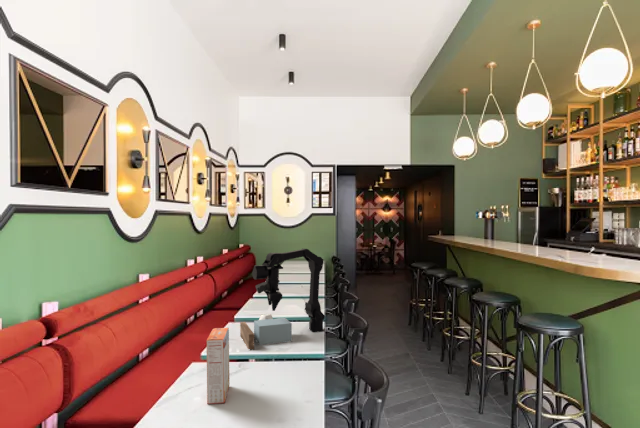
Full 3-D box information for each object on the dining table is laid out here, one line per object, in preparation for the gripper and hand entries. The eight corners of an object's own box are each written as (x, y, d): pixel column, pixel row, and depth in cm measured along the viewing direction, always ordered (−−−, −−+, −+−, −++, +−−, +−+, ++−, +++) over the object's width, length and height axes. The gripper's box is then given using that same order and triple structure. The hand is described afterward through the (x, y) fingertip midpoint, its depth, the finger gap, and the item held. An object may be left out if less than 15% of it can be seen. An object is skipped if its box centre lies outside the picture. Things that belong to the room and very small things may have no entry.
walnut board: (245, 335, 206) (245, 321, 206) (254, 349, 183) (254, 334, 183) (240, 336, 205) (240, 322, 205) (248, 350, 182) (248, 334, 183)
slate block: (284, 335, 207) (284, 317, 207) (291, 341, 196) (291, 323, 196) (254, 338, 201) (254, 320, 201) (259, 345, 190) (259, 326, 190)
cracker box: (212, 387, 142) (212, 327, 142) (230, 386, 143) (229, 327, 143) (205, 404, 128) (205, 339, 128) (224, 403, 129) (224, 338, 129)
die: (266, 334, 210) (277, 317, 214) (252, 325, 212) (263, 308, 215) (268, 335, 218) (278, 319, 222) (255, 327, 220) (265, 311, 223)
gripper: (254, 273, 209) (252, 302, 210) (260, 282, 191) (259, 314, 193) (275, 273, 212) (273, 302, 214) (283, 282, 195) (281, 313, 196)
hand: (271, 307), depth 204 cm, fingers open, 9 cm apart
